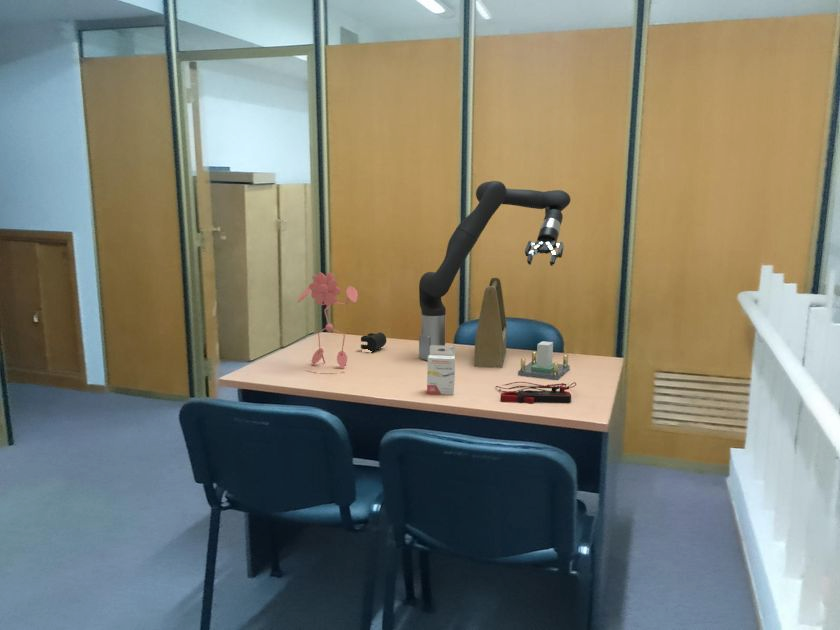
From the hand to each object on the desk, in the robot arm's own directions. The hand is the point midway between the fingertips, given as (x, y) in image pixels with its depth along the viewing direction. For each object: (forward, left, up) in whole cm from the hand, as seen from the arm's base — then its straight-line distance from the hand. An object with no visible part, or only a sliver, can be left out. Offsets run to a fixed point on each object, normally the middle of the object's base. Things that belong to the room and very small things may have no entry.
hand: (540, 263), depth 254 cm
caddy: (-16, +9, -37) cm, 41 cm away
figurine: (-77, +29, -37) cm, 90 cm away
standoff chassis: (-14, -18, -37) cm, 43 cm away
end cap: (-47, +46, -37) cm, 75 cm away
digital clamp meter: (-35, -36, -37) cm, 63 cm away
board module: (-14, -18, -35) cm, 42 cm away
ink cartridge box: (-60, -19, -37) cm, 73 cm away
